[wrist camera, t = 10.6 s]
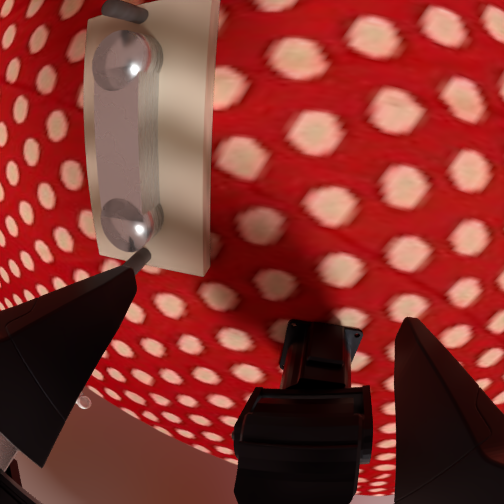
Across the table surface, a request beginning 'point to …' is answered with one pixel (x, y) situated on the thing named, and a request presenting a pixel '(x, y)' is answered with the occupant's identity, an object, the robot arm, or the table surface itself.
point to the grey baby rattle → (128, 137)
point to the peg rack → (167, 127)
